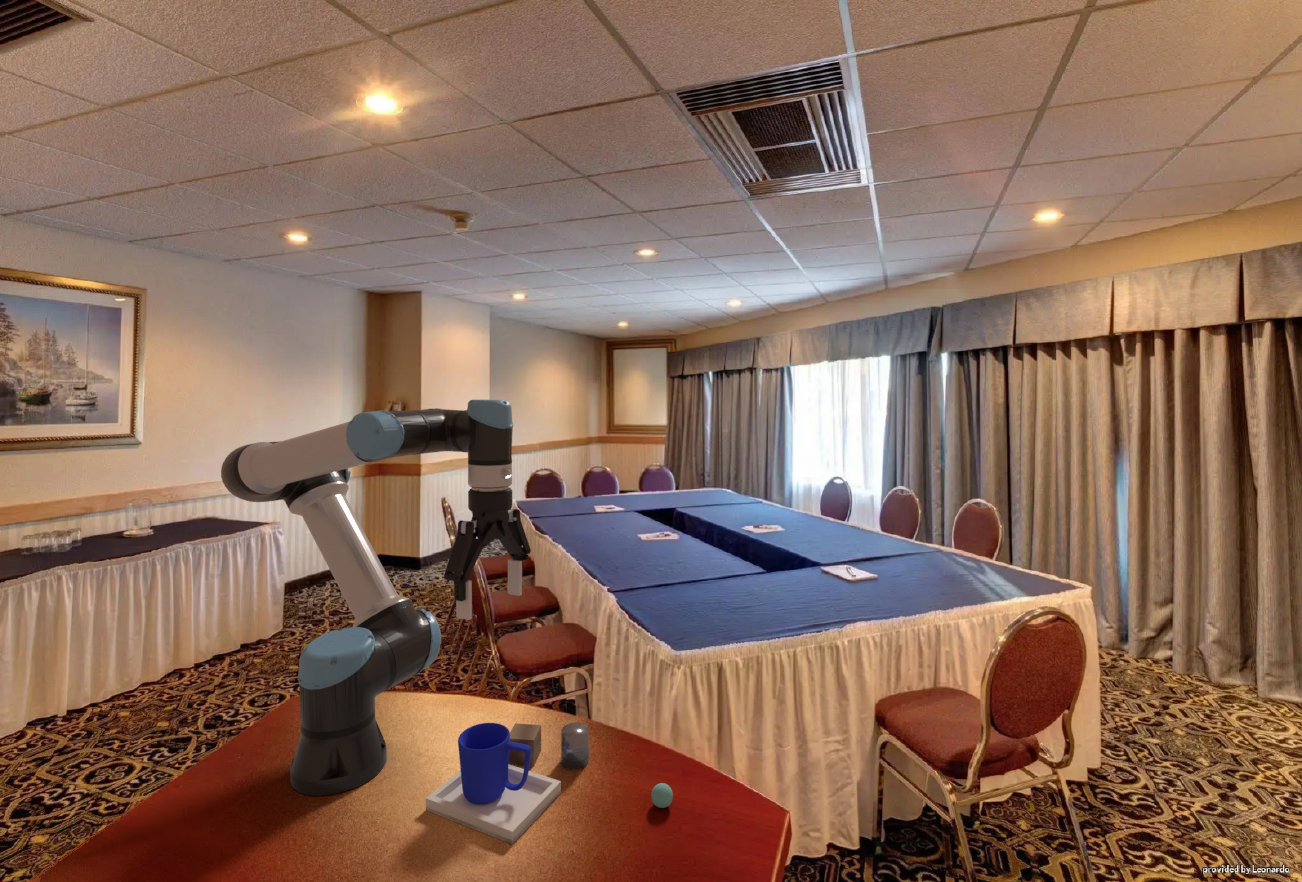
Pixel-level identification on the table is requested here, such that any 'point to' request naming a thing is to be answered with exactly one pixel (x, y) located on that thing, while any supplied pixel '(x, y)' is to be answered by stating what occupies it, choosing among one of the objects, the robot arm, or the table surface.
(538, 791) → the tray
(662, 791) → the ball
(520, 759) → the walnut block
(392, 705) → the table surface
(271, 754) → the table surface
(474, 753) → the mug
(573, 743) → the tin
